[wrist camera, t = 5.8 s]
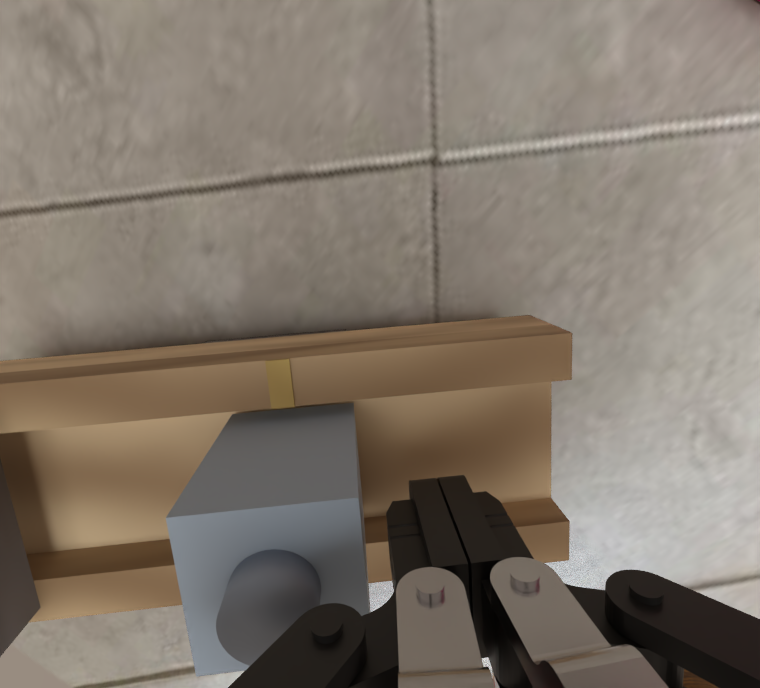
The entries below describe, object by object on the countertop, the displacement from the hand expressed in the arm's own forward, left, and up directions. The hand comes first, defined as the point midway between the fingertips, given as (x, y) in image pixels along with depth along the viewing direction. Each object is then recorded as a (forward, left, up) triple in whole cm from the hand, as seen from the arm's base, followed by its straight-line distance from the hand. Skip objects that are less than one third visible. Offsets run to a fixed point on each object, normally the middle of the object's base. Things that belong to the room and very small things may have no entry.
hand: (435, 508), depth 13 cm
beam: (0, -5, -9) cm, 10 cm away
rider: (0, -4, -4) cm, 5 cm away
